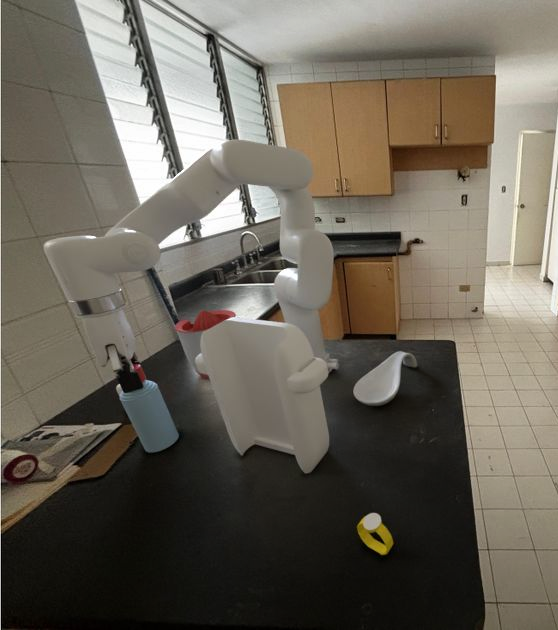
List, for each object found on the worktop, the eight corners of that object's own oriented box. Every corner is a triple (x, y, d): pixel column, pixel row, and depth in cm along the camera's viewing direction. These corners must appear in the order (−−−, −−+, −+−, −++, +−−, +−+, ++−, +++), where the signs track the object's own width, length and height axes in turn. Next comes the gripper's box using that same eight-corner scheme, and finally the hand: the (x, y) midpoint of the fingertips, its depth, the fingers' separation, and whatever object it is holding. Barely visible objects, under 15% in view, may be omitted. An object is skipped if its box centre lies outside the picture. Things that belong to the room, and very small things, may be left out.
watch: (397, 548, 52) (394, 523, 50) (386, 565, 50) (383, 539, 48) (367, 530, 55) (363, 505, 53) (356, 545, 53) (351, 519, 51)
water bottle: (185, 433, 78) (156, 363, 71) (161, 454, 73) (126, 381, 65) (163, 430, 80) (132, 361, 72) (137, 450, 74) (100, 378, 66)
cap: (131, 377, 72) (125, 364, 70) (150, 375, 72) (144, 362, 70) (117, 388, 68) (111, 375, 67) (137, 386, 68) (131, 373, 67)
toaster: (355, 442, 74) (336, 317, 62) (326, 483, 64) (297, 345, 52) (257, 418, 82) (224, 305, 70) (218, 452, 72) (173, 327, 61)
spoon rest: (384, 418, 80) (382, 394, 77) (345, 406, 85) (341, 382, 82) (427, 369, 99) (426, 348, 97) (393, 361, 104) (391, 341, 102)
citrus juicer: (231, 351, 116) (215, 296, 108) (258, 364, 106) (243, 306, 98) (181, 372, 104) (159, 313, 96) (207, 389, 95) (184, 325, 87)
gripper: (82, 296, 67) (118, 373, 75) (59, 322, 55) (105, 413, 62) (129, 288, 71) (159, 362, 78) (118, 311, 58) (155, 398, 65)
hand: (135, 384), depth 70 cm, fingers closed on cap, 3 cm apart
